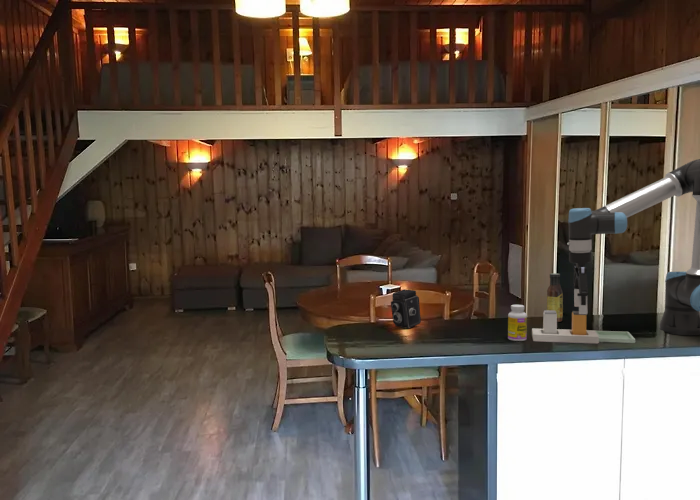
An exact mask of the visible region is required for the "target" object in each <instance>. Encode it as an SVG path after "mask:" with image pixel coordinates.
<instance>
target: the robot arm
mask: <svg viewBox="0 0 700 500" xmlns="http://www.w3.org/2000/svg"><path fill="white" fill-rule="evenodd" d="M689 193H692V198H694V200H696V206H695V220H694V228H693V229H694V231H693V242H692V243H693V244H692V252H691V253H692V255H691V267H690V268H689V269H688V270H687V271H668V272H667V273H666V275H665V281H664V283H665V289H664V290H665V292H664V296H665V297H664V299H665V300H664V310H663V314H662V316H661V319H660V321H659V330H660V331H663V332H664V333H666V334H671V335H679V336H700V158H697V159H695V160H694V159H693V160H691V161H689V162H687V163H685V164H683V165H681V166H679V167H677V168H676V169H673V170H671V171H669V172H667V173H666V174H665V175H664V177H663V178H661V179H659V180H657V181H655V182H653V183H652V182H651V184H648V185H646V186H644V187H642V188H640V189H638V190H636V191H633V192H632V193H628V194H626V195H625V196H623V197H621V198H619V199H616V200H615V201H612V202H610V203H608V204H606V205H603V206H601V207H599V208H598V209H595V210H592V209H591V208H590V207H582V208H581V207H577V208H576V207H575V208H571V209H569V211H568V221H567V222H568V242H567V243H566V244H567V246H568V250H569V251H570V252H568V262H569V263H571V264H573V266H574V267H573V284H572V285H573V289H574V290H573V294H574V295H573V298H574V299H573V301H574V304H573V305H574V306H573V307H576V308H578V311H579V314H586V315H588V295H589V288H588V287H589V286H588V275H587V273H588V268H587V266H586V265H585V264H590V263H592V260H593V259H592V257H593V256H592V252H591V251H592V249H593V247H592V241H593V240H592V235H607V234H608V235H609V234H611V235H612V234H615V235H616V234H617V235H618V234H623V233H625V232H626V230H627V228H628V218H629V217H632V216H634V215H635V214H638V213H640V212H642V211H644V210H647V209H649V208H650V207H653V206H655V205H658V204H659V203H662V202H664V201H666V200H668V199H670V198H672V197H674V196H676V197H681V196H683V195H685V194H689Z"/></svg>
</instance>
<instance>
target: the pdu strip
mask: <svg viewBox="0 0 700 500" xmlns="http://www.w3.org/2000/svg"><path fill="white" fill-rule="evenodd" d="M595 331H596V330H593V329H592V330H589V329H586V335H572V329H565V328H564V329H562V328H561V329H560V328H558V329H557V334H543V328H534V327H533V328H531V337H532V341H533V342H542V343H543V342H545V343H546V342H547V343H568V344H569V343H571V344H572V343H575V344H599V343H600V342H599V336H598V335H597V333H596V332H595Z"/></svg>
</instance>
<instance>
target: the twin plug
mask: <svg viewBox="0 0 700 500" xmlns="http://www.w3.org/2000/svg"><path fill="white" fill-rule="evenodd" d="M542 315H543V316H542V319H543V322H542V329H543V334H557V328H558V322H557V313H556V311H553V310H547V309H546V310H545V309H544V310H543V314H542Z"/></svg>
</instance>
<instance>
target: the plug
mask: <svg viewBox="0 0 700 500" xmlns="http://www.w3.org/2000/svg"><path fill="white" fill-rule="evenodd" d="M571 330H572V335H586V330H587V314H579V310H572V312H571Z"/></svg>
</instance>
